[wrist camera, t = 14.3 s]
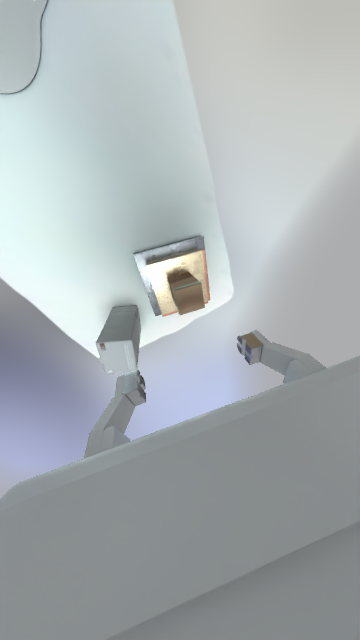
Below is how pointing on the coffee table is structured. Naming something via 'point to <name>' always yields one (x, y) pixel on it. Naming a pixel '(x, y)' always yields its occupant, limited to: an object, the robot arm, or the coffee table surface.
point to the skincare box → (120, 340)
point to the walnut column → (186, 293)
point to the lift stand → (171, 271)
